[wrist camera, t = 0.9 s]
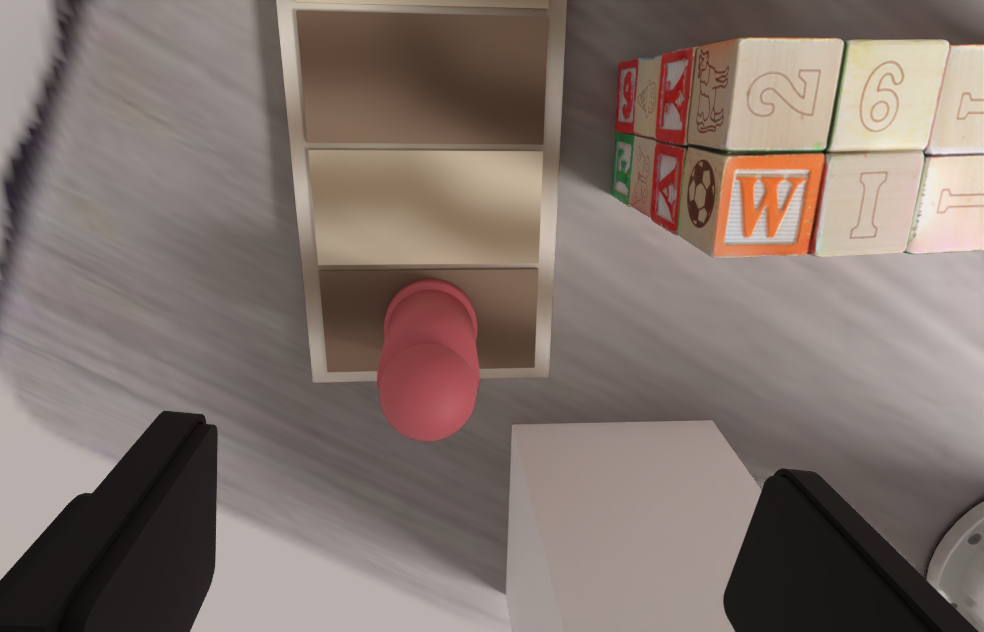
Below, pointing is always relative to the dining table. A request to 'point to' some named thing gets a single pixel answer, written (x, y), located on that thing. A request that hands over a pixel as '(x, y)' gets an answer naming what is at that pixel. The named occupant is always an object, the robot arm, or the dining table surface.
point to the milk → (624, 526)
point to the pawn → (429, 360)
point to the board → (425, 168)
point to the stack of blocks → (807, 145)
